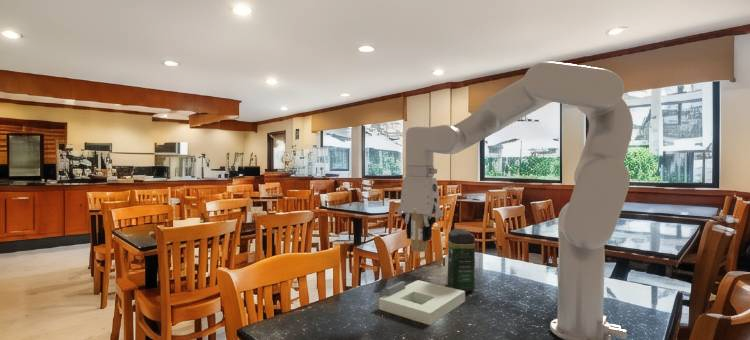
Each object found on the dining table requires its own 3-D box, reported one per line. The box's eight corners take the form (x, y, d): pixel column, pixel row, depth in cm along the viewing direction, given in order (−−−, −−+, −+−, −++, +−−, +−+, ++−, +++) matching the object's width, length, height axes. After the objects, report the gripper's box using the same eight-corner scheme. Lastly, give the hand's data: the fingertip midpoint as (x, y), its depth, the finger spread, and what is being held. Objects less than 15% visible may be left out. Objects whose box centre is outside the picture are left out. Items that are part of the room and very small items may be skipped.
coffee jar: (477, 293, 117) (478, 233, 116) (452, 293, 116) (452, 233, 116) (468, 282, 126) (469, 227, 126) (445, 282, 126) (445, 227, 125)
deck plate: (464, 301, 110) (465, 284, 110) (430, 325, 94) (430, 305, 94) (417, 289, 120) (417, 273, 119) (379, 309, 104) (379, 291, 104)
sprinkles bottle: (426, 252, 101) (426, 202, 101) (409, 252, 102) (409, 202, 102) (427, 248, 106) (428, 200, 105) (411, 248, 107) (411, 200, 106)
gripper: (453, 173, 101) (453, 241, 101) (401, 171, 111) (401, 233, 112) (440, 173, 95) (439, 246, 96) (386, 172, 105) (385, 237, 106)
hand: (418, 238), depth 104 cm, fingers closed on sprinkles bottle, 4 cm apart
